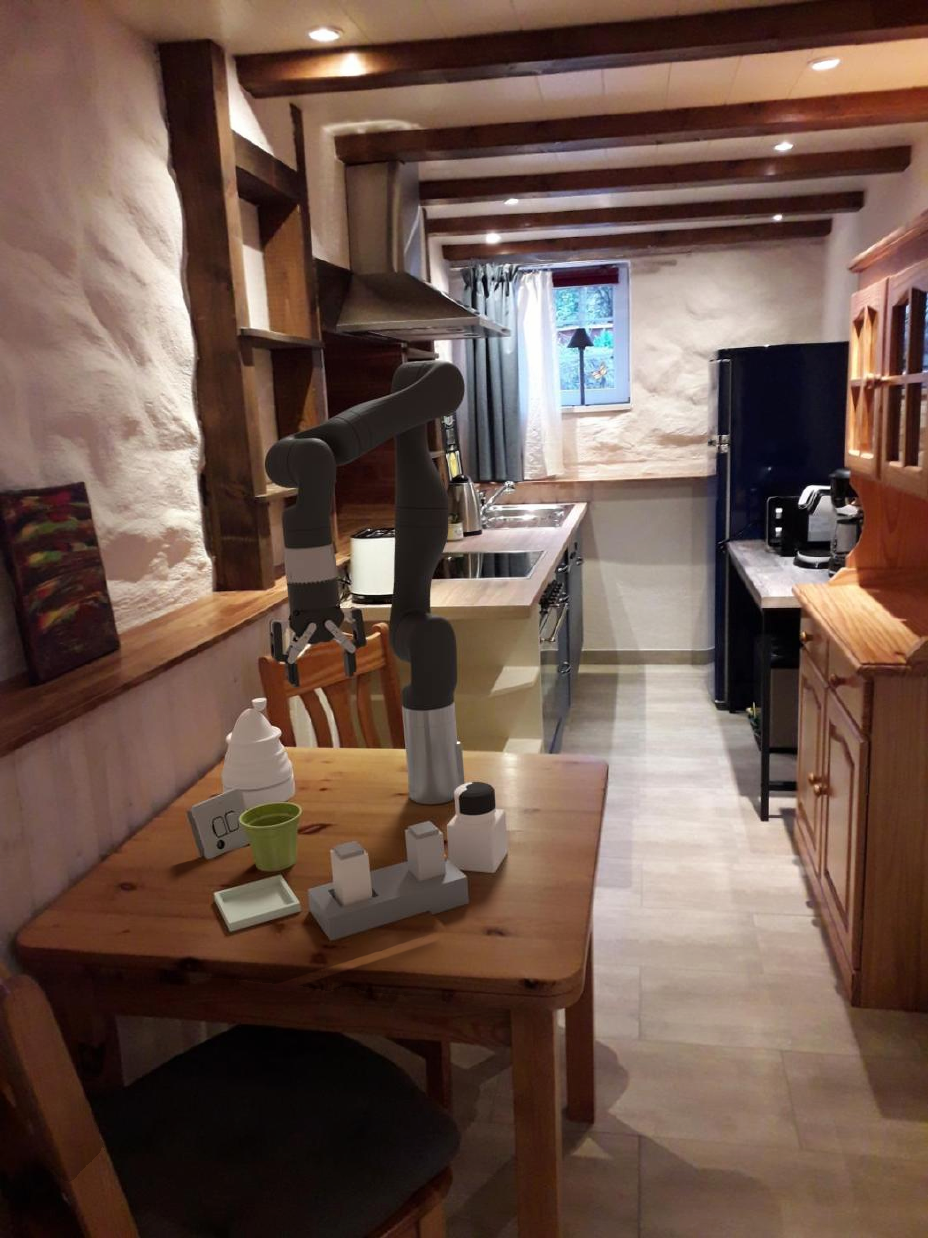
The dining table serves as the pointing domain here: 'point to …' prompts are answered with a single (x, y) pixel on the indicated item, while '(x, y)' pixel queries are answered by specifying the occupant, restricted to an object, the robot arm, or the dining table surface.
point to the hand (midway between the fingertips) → (322, 681)
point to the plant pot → (272, 834)
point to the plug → (350, 873)
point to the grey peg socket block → (397, 888)
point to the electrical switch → (219, 824)
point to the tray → (256, 902)
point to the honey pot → (257, 760)
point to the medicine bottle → (477, 829)
